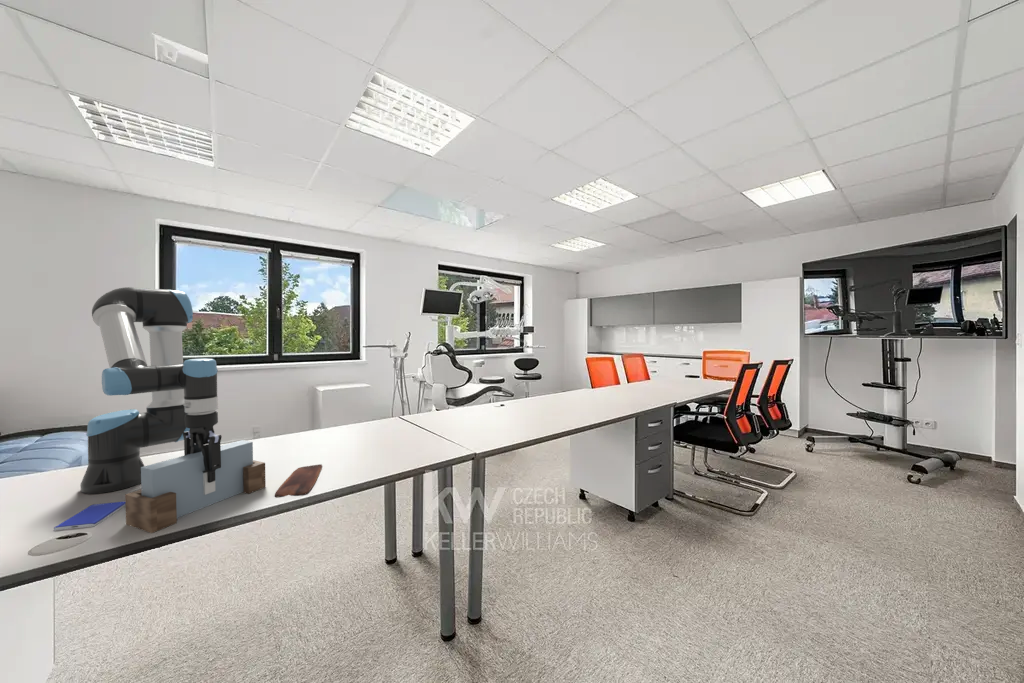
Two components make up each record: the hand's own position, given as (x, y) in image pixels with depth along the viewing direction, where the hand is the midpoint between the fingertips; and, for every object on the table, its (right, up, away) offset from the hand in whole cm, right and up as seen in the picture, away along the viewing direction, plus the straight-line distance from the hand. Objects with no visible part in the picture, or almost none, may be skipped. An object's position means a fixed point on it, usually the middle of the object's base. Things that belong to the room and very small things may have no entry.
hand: (203, 490), depth 111 cm
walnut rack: (0, -4, 0) cm, 4 cm away
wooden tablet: (+19, -4, +19) cm, 27 cm away
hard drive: (-24, -5, -8) cm, 25 cm away
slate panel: (0, -4, 0) cm, 4 cm away
